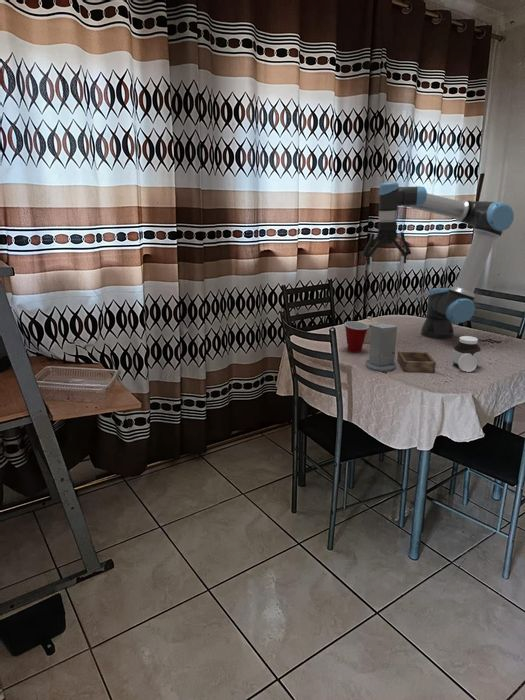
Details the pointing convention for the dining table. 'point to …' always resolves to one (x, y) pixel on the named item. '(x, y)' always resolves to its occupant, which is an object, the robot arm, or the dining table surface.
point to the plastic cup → (355, 335)
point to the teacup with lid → (368, 333)
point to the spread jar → (466, 353)
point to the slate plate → (382, 368)
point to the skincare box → (382, 344)
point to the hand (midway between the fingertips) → (385, 271)
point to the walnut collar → (416, 362)
